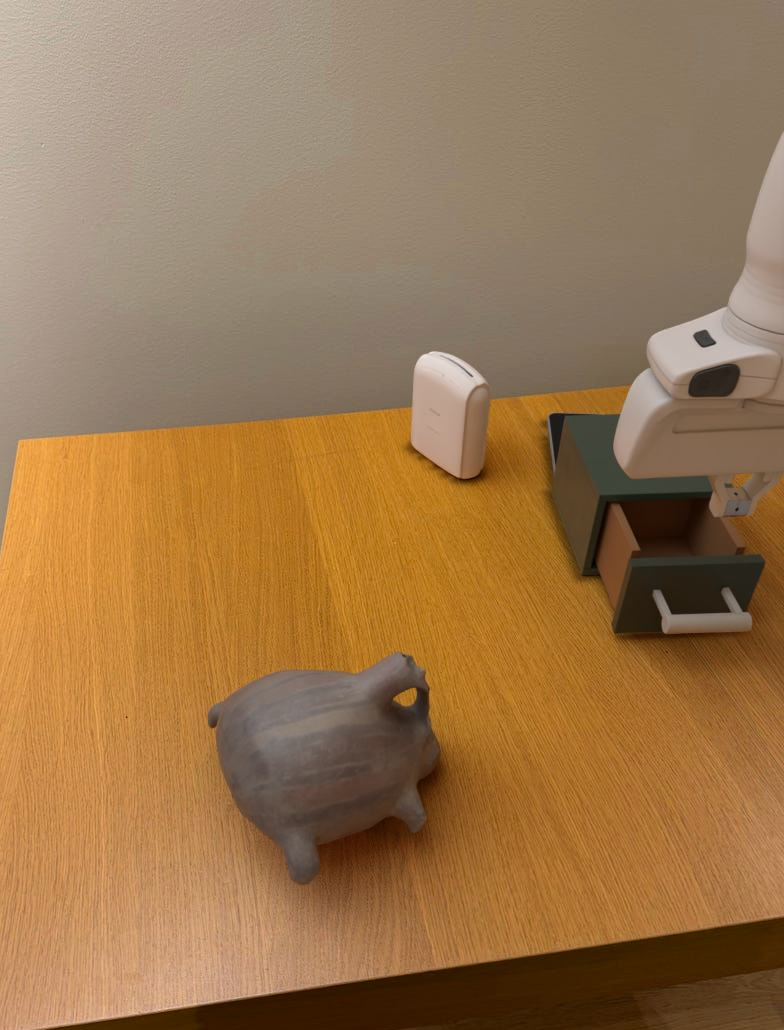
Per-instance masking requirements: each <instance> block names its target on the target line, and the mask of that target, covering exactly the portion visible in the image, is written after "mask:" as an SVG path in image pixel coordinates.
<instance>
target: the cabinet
mask: <svg viewBox="0 0 784 1030" xmlns="http://www.w3.org/2000/svg"><path fill="white" fill-rule="evenodd" d="M620 415H621V413H610V414H609V413H608V414H607V413H605V414H603V415H576V416H565V418H564V424H563V429H562V435H561V440H560V446H559V451H558V457H557V462H556V468H555V474H554V473H553V480H552V485H551V490H550V495H551V497H552V500H553V502H554V505H555V508H556V511H557V513H558V516H559V518H560V521H561V524H562V526H563V529H564V532H565V535H566V537H567V540H568V542H569V543H568V544H569V546H570V548H571V552H572V553H573V556H574V559H575V561H576V564H577V567H578V570H579V573H580V575H581V576H601V575H600V572H599V570H598V567H597V565H596V562H595V559H594V552H595V548H596V544H597V540H598V535H599V531H600V527H601V522H602V518H603V514H604V509H605V505H606V502H610V501H639V500H669V499H699V498H711V496H712V493H713V489H712V486H711V484H710V481H709V479H708V476H707V475H706V476H685V477H665V478H645V479H632V478H630V477H629V476H628V475H627V474H626V473H625V472H624V471H623V469H622V468H621V466H620V465H619V463H618V461H617V459H616V457H615V454H614V449H613V443H614V437H615V433H616V429H617V425H618V421H619V418H620ZM724 485H725V488H735V486H734V485H733V482H732V483H731V484H726V483H725V484H724Z"/></svg>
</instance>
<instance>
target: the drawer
mask: <svg viewBox="0 0 784 1030" xmlns="http://www.w3.org/2000/svg"><path fill="white" fill-rule="evenodd" d="M710 500H711V498H699V499H669V500H639V501H610V502H606V505H605V509H604V514H603V518H602V522H601V527H600V531H599V535H598V540H597V544H596V548H595V552H594V559H595V562H596V565H597V567H598V570H599V572H600V575H599V576H600V577H601V580H602V582H603V584H604V587H605V590H606V592H607V595H608V597H609V599H610V603H611V605H612V608H613V610H614V613H613V616H612V621H611V625H610V626H611V629H612V632H613V633H614V634H636V633H637V634H639V633H641V634H642V633H663V634H665V635H670V634H673V635H675V634H700V633H701V634H704V633H707V634H708V633H734V632H735V633H736V632H737V633H738V632H749V631H750V630H752V627H753V617H752V615H751V613H750V612H747V611H748V609H749V607H750V603H751V601H752V599H753V596H754V593H755V591H756V588H757V586H758V583H759V581H760V579H761V576H762V573H763V570H764V569H765V566H766V561H765V558H764V557H763V555H762V554H760V553H756V554H755V553H754V554H753V553H752V554H745V552H746V549H747V545H746V543H745V542H744V540H743V539H742V537H741V535H740V534H739V532H738V531H737V529H736V527H735V525H734V524H733V522H732V520H731V519H730V517H714V516H713V514H712V512H711V511H710V507H709V503H710Z"/></svg>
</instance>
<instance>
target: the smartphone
mask: <svg viewBox="0 0 784 1030" xmlns="http://www.w3.org/2000/svg"><path fill="white" fill-rule="evenodd" d="M576 415H604V414H603V413H585V412H584V413H583V412H551V413H549V414H548V415H547V421H546V423H547V424H546V425H547V431H548V440H549V447H550V456H551V464H552V471H553V473H552V474H553V475H554V474H555V468H556V462H557V457H558V451H559V446H560V440H561V435H562V429H563V424H564V418H565V416H576Z"/></svg>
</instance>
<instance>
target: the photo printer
mask: <svg viewBox="0 0 784 1030" xmlns="http://www.w3.org/2000/svg"><path fill="white" fill-rule="evenodd" d="M412 384H413V385H412V402H411V404H412V405H411V427H410V443H411V446H412V447H413V448H414V449H415V450H416V451H418V452H419V453H420V454H421V455H423V456H424V457H425V458H427V459H428V460H429V461H431V462H432V463H434V464H435V465H437V466H438V467H439V468H441V469H443V470H444V471H445V472H447V473H449V474H450V475H452V476H454V477H456V478H457V479H461V480H466V479H471V478H475V477H477V476H478V475H479V474H480V473H481V470H482V469H483V468H484V465H485V459H486V458H485V457H486V447H487V440H488V439H487V438H488V430H489V429H488V428H489V419H490V412H491V411H490V410H491V409H490V408H491V399H492V389H491V386H490V384H489V383H488V382H487V380H486V379H485V377H483V375H481V373H480V372H479V371H477V369H476V368H474V367H473V366H472V365H470V364H469V363H468V362H466V361H465V360H463V359H461V358H459V357H457V356H455V355H453V354H451V353H447V352H443V351H430V352H428V353H424V354H422V355H421V356H420V357H419V358H418V360H417V361H416V364H415V366H414V370H413V382H412Z"/></svg>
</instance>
